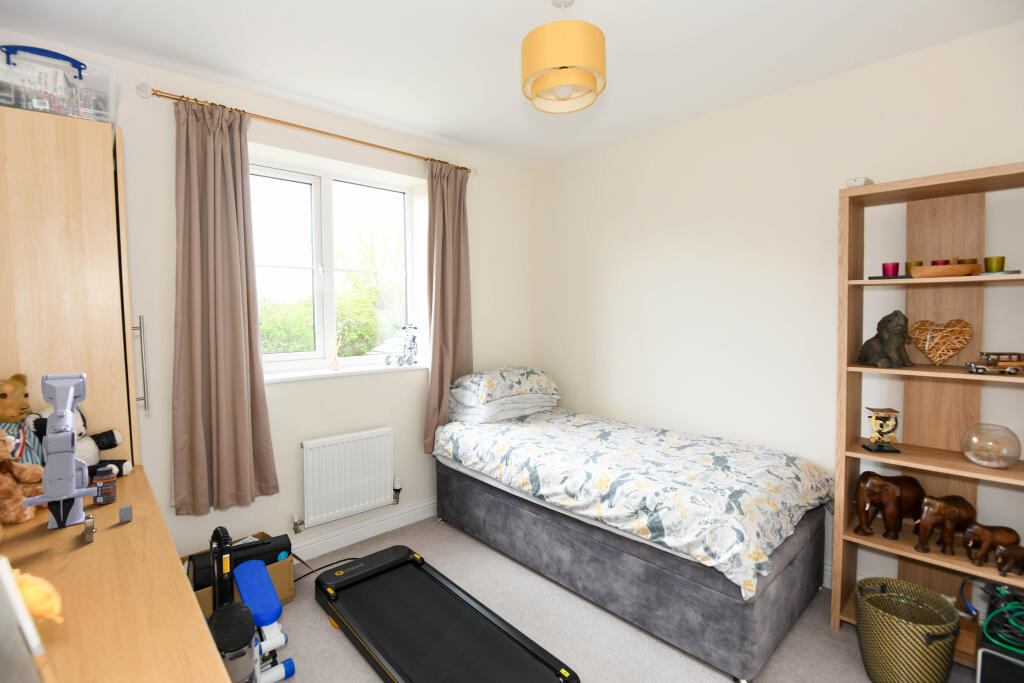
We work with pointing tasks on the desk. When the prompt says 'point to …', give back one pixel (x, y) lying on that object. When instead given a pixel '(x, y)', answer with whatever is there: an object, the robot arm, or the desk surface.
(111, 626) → the desk surface
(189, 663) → the desk surface
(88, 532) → the light wooden bar
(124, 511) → the white-faced wooden block
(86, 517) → the pivot post
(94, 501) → the supplement bottle
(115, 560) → the desk surface
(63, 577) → the desk surface
